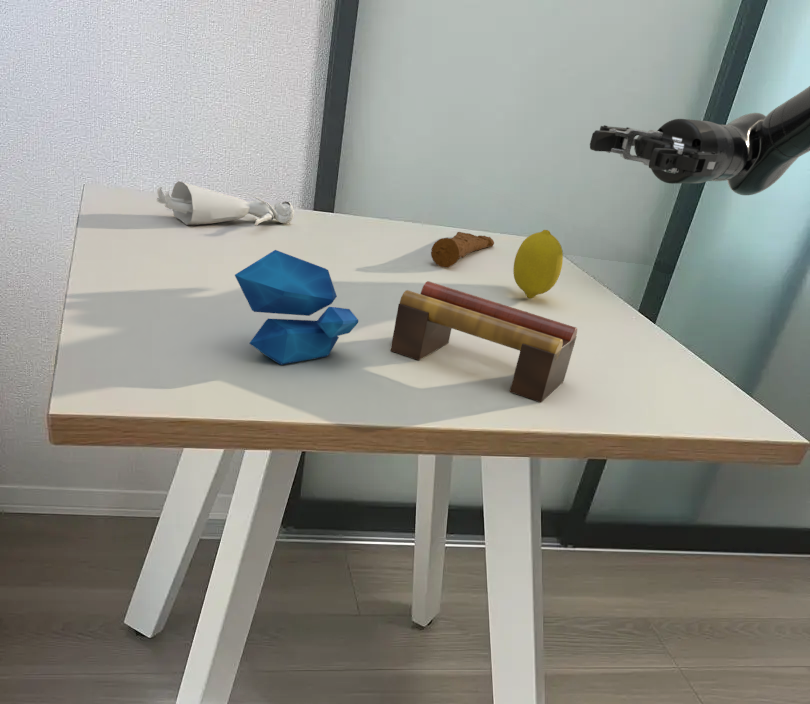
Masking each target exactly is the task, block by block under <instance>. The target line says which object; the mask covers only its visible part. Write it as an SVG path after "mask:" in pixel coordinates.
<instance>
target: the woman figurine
mask: <svg viewBox="0 0 810 704" xmlns="http://www.w3.org/2000/svg"><path fill="white" fill-rule="evenodd" d="M162 189H163V186H160V187H158V188H157V191H156V193H157V196H158V197H156V202H157V203H160V204H164V207H165V208H167V209H170V210H172V213H173V216H174V218H175V219H178V220H179V221H181V222H182V223H183V224H185V225H186V226H195V225H197V226H198V225H209V224H210V225H211V224H216V223H224V222H225V223H226V222H230V221H237V220H240V219H242V218H245V216H247V215H252V216H254V217H253V218H254V219H255V222H254V224H253V225H254V226H259V224H260V223H263V222H266V221H268V222H272V221H274V220H275V221H277V222H279V223H281V224H283V225H284V224H290V222H292V220H293V219H294V218H295V217H294V216H295V209H294V207H293V204H292V203H291V202H290V201H286V200H285V201H283V202H281V201H279V202H276V203H275V204H274V206H272V205H271V204H270V203H269V202H268V201H266V200H265V199H262V198H260V196H253V198H254V199H255V200H249V201H248V200H245V199H243V198H240V197H237V196H232V195H230V194H225V193H222V192H219V191H216V190H213V189H208V188H205V187H201V186H199V185H195V184H191V183H187V182H183V181H180V180H178V181H177V182H176V183H174V185H173V188H172V191H171V194H170V191H167V192H166V193H164V191H163V190H162Z"/></svg>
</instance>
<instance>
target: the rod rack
mask: <svg viewBox="0 0 810 704" xmlns="http://www.w3.org/2000/svg"><path fill="white" fill-rule="evenodd" d="M393 328H394V329H393V333H392V339H391V345H390V352H394V353H396V354H397V355H402V356H404V357H407V358H411V359H413V360H415V361H420V360H423V359H424V358H426V357H428V356H429V355H431V354H432V353H434V352H436V351H437V350H439V349H441V348H442V347H444V346H446V345H447V344H449V342H450V337H451V333H452V330H455V331H458V332H462V333H465V334H467V335H470V336H473V337H477V338H479V339H483V340H486V341H489V342H491V343H495V344H498V345H501V346H504V347H507V348H510V349H512V350H517V351H519V354H518V357H517V362H516V365H515V371H514V373H513V377H512V382H511V386H510V390H509V392H510V393H511V394H515V395H517V396H521V397H524V398H526V399H529V400H533V401H536V402H538V403H542V402H544V400H545V399H547V398H548V396H550V395H551V394H552V393H554V391H555V390H556V389H557V388H558V387H559V386H560V385H562V383H563V382H565V378H566V375H567V371H568V367H569V365H570V362H571V358H572V354H573V351H574V347H575V343H576V339H577V334H578V327H576V326H573V325H569V324H566V323H564V322H560V321H557V320H554V319H551V318H547V317H544V316H541V315H537V314H534V313H531V312H528V311H525V310H523V309H518V308H515V307H513V306H509V305H506V304H502V303H499V302H496V301H493V300H490V299H487V298H484V297H480V296H477V295H474V294H470V293H468V292H464V291H461V290H458V289H455V288H453V287H449V286H445V285H442V284H439V283H436V282H432V281H429V280H427V281H426V282H424V284H423V286H422V288H421V291H420V293H418V292H415V291H412V290H408V289H407V290H405V291H403V293H402V295H401V296H400V300H399V303H398V306H397V311H396V316H395V323H394V327H393Z"/></svg>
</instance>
